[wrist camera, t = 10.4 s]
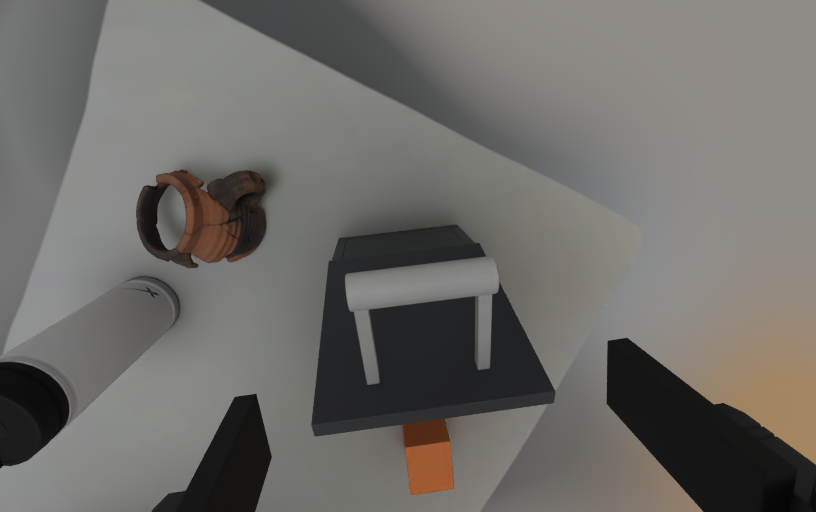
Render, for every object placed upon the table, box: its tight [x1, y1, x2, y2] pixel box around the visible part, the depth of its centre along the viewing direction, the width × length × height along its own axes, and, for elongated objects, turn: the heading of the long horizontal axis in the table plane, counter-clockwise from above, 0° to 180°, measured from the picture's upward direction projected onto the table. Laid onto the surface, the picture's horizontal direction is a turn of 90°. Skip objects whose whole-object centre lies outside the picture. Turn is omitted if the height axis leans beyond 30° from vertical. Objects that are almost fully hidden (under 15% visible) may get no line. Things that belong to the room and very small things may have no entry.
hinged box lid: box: [312, 243, 555, 436], centre depth 26 cm, size 16×12×8 cm
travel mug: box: [0, 277, 179, 468], centre depth 34 cm, size 6×7×20 cm
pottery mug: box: [136, 170, 265, 268], centre depth 39 cm, size 12×10×8 cm
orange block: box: [403, 419, 454, 495], centre depth 47 cm, size 6×5×7 cm
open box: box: [332, 225, 475, 261], centre depth 42 cm, size 15×12×9 cm
